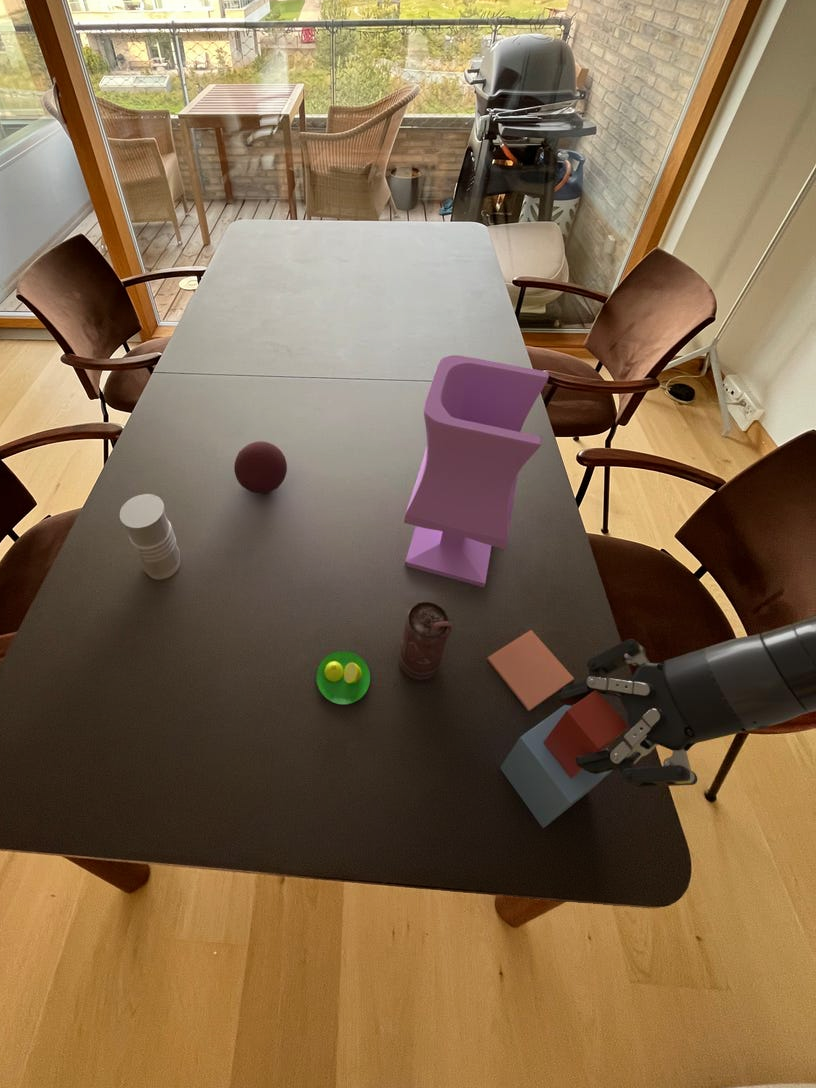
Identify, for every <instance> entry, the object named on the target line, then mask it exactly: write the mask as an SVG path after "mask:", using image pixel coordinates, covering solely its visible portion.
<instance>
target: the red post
mask: <svg viewBox="0 0 816 1088" xmlns="http://www.w3.org/2000/svg"><path fill="white" fill-rule="evenodd" d="M628 728H629V725H628V724H627V723H626V722H625V721H624V720H623V718H622V717H621V716H620V715H619V714H618V712H616V711H615V709H614V708H613V707H612V706H611V705H610V704H609V703H608V702H607V700H606V699H605V698H604V697H603V696H602V694H601V693H598V692H597V691H596V690H595V691H593V692H592V693H591V694H589V695H588V696H586V697H585V698H584V699H582V700H581V701H579V702H578V703H576V704H573V705H571V708H569V709H568V710H567V711H566V712H565V713H564V715H563V716H562V718H561V719H560V720H559V722H558V723H557V724H556V726H555V727H554V728H553V730H552V731H551V732H550V734H549V735H548V737H547V738H546V739H545V741H544V742H543V743H544V744H545V746H546V747H547V748H548V750H549V751H550V752H551V753H552V755H553V756H554V757H555V759H556V760H557V761H558V762H559V764H560V765H561V766H562V768H563V769H564V770H565V771H566V773H567V774H568V775H569V777H570V778H572V777H573V776H575V775H576V774H577V773H579V772H580V771H581V770H582V769H583V768H581V767H578V766H577V763H576V759H575V758H577V757H580V756H584V755H588V754H592V753H596V752H600V751H604V750H606V749H608V748H609V747H610V746H611V745H612V744H613V743H614V742H615V741H616V740H617V739H618V738H619V737H620V736H621V735H622V734H623V733H624V732H625V731H626V730H627V729H628Z"/></svg>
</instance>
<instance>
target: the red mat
mask: <svg viewBox="0 0 816 1088" xmlns="http://www.w3.org/2000/svg"><path fill="white" fill-rule="evenodd" d="M486 660H487V661H488V662H489V664H490V665H491V667H492V668H493V669H494V670H495V671H496V673H497V674H498V675H499V676H500V678H501V679H502V680H503V681H504V683H505V684H506V685H507V687H508V688H509V689H510V690H511V691H512V693H513V694H514V696H515V697H516V698H517V699H518V700H519V702H520V703H521V704H522V705H523V706H524V708H525V709H526V711H528V712H530V711H532V710H533V709H535V708H536V707H537V706H539V705H540V704H541V703H544V701H546V700H548V699H549V698H550V697H551V696H553V695H555V694H556V693H557V692H559V691H560V690H562V689H563V688H564V687H566V686H568V684H569V685H570V683H572V682H573V681H574V680H575V677H573V675H572V674H571V673H570V672H569V671H568V670H567V669H566V667H565V666H564V665H563V664H562V663H561V662H560V660H559V659H557V657H556V656H555V655H554V654H553V653H552V652H551V650H549V648H548V647H547V646H546V645H545V644H544V642H542V641H541V639H540V638H539V636H538V635H536V633H535V632H534V631H533V630H532V629H530V630H528V631H527V632H526V633H523V635H521V636H519V637H517V638H516V639H514V640H513V641H511V642H509V643H508V644H507V645H505V646H504V647H502V648H500V649H498V650H497V651H495V652H494V653H492V654H491V655H489V656H487V658H486Z"/></svg>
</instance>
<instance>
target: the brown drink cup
mask: <svg viewBox="0 0 816 1088" xmlns="http://www.w3.org/2000/svg"><path fill="white" fill-rule="evenodd" d="M452 631H453V624H452V623H451V620H450V618H449V616H448V614H447V612H446V611H445V609H443V608H442V606H440V605H439V604H437V603H434V602H430V601H422V602H419V603H416V604H415V605H413V606H412V607H410V608H409V610H408V611H407V612H406V615H405V619H404V623H403V631H402V635H401V641H400V647H399V654H398V659H397V662H398V668H399V671H400V673H401V674H402V675H403V677H404V678H405V679H407V680H408V681H409V682H412V683H414V684H425V683H428V682H431V681H432V680H433V679H434V678H435V677H436V676H437V674H438V672H439V670H440V666H441V662H442V658H443V655H444V653H445V650H446V645H447V642H448V639H449V637H450V635H451V634H452Z"/></svg>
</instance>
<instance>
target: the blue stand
mask: <svg viewBox="0 0 816 1088" xmlns="http://www.w3.org/2000/svg"><path fill="white" fill-rule="evenodd" d="M571 707H572V705H565V704H563V706H561V707H560V708H559V709H557V710H556V711H555V712H553V713H552V714H550V715H549V716H548V717H546V718H545V719H544V720H542V721H541V722H539V723H537V725H535V726H534V727H532V728H530V730H528V731H527V732H525V733H524V734H523V735H521V736H520V737H519V738H518V740H517V742H516V743H515V744H514V746H513V747H512V749H511V751H510V752H509V753H508V755H507V756H506V758H505V759H504V761H503V763H502V764H501V766H500V770H501V772H502V773H503V774H504V776H505V777H506V779H507V780H508V781H509V783H510V785H511V786H512V787H513V788H514V790H515V791H516V793H517V794H518V796H519V797H520V798H521V799H522V801H523V802H524V804H525V806H526V807H527V808H528V810H529V811H530V812H531V814H532V815H533V817H534V818H535V819H536V821H537V822H538V824H539V825H540V826H541V828H542V829H545V828H546V827H547V826H549V825H550V824H551V823H552V822H553V821H555V820H556V819H557V818H558V817H560V815H562V814H563V813H565V812H566V811H567V810H569V808H570V807H572V806H573V805H574V804H576V803H577V802H579V800H581V799H582V798H584V796H585V795H587V794H588V793H589V792H590V791H591V790H592V789H594V788H595V787H596V786H597V785H598V784H600V783H601V782H602V781H603V780H604V779H605V778H606V777H607V776H608V775H610V774H611V772H613V771H614V770H611V771H607V772H603V773H598V774H593V773H590V772H587V771H585V770H584V769H582V770H581V771H580V772H579V773H577V774H576V775H575V776H573V777H572V778H570V777H569V775H568V774H567V773H566V771H565V770H564V769H563V768H562V766H561V765H560V764H559V762H558V761H557V760H556V759H555V757H554V756H553V755H552V753H551V752H550V751H549V750H548V748H547V747H546V746H545V744H544V743H543V742H544V741H545V739H546V738H547V737H548V735H549V734H550V732H551V731H552V730H553V728H554V727H555V726H556V724H557V723H558V722H559V720H560V719H561V718H562V716H563V715H564V713H565V712H566V711H567V710H568V709H569V708H571ZM606 750H608V751H610V750H609V749H608V748H607V749H606Z"/></svg>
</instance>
